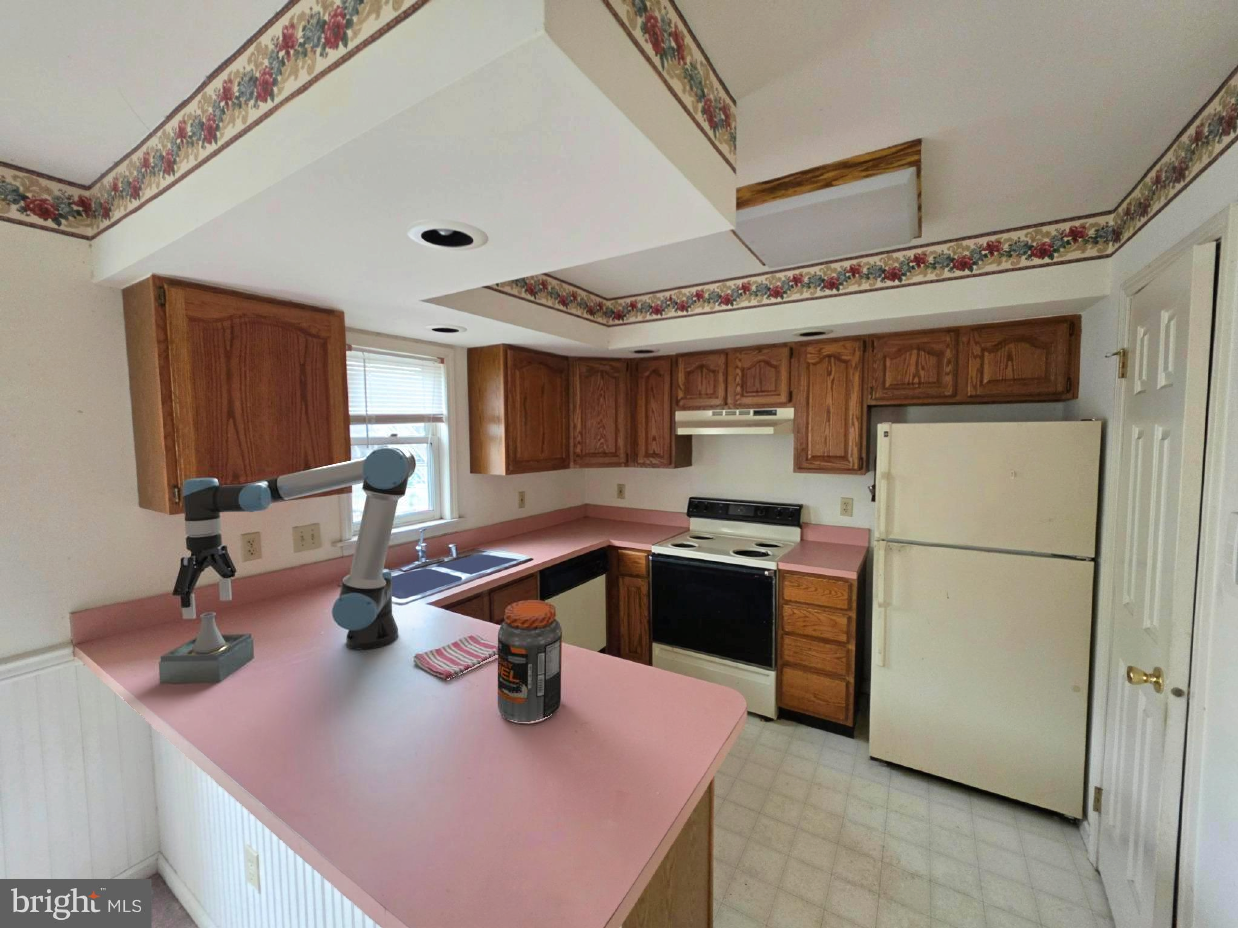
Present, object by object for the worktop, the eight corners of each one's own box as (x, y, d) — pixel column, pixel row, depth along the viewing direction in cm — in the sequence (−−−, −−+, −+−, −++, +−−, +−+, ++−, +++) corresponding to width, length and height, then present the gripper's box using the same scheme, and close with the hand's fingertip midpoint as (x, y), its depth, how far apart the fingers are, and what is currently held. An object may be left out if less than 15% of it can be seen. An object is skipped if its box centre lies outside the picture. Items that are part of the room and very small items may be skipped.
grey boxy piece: (253, 657, 145) (253, 633, 145) (219, 682, 131) (218, 655, 131) (200, 658, 144) (198, 634, 143) (159, 683, 130) (158, 656, 130)
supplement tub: (486, 705, 124) (486, 605, 122) (540, 685, 134) (541, 592, 132) (516, 736, 111) (517, 626, 110) (573, 711, 122) (575, 610, 120)
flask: (206, 656, 133) (204, 620, 132) (185, 652, 135) (183, 617, 134) (232, 644, 140) (231, 610, 139) (212, 641, 142) (210, 608, 141)
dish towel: (411, 665, 144) (411, 654, 144) (476, 639, 163) (476, 628, 162) (445, 684, 134) (445, 672, 134) (510, 653, 153) (510, 643, 152)
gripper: (221, 525, 147) (226, 593, 149) (149, 545, 122) (156, 627, 124) (248, 524, 148) (252, 593, 149) (182, 544, 123) (187, 626, 124)
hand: (208, 608), depth 137 cm, fingers open, 13 cm apart
